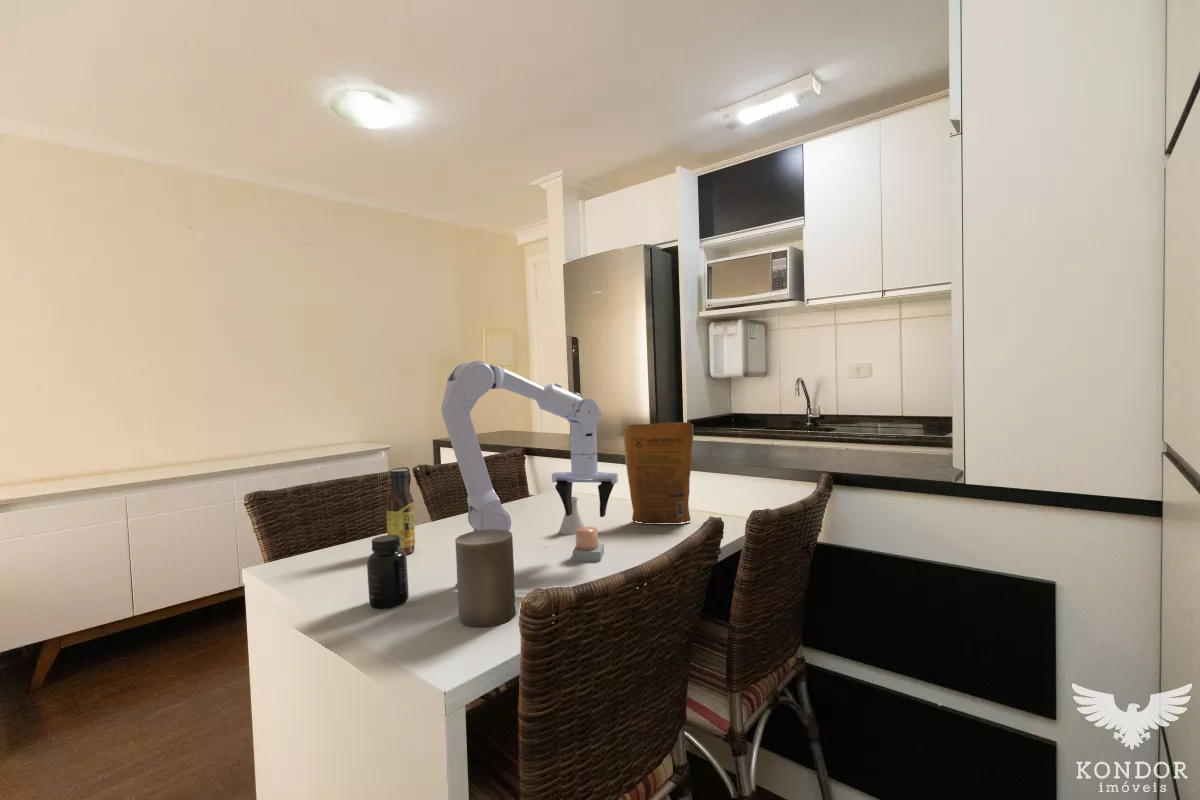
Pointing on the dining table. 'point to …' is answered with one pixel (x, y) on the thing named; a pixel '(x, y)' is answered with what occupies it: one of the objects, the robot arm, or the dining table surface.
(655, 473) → the pancake mix bag
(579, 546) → the terracotta cylinder
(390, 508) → the sauce bottle
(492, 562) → the pillar candle
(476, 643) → the dining table surface
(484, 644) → the dining table surface
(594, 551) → the slate top block
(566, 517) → the flask
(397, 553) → the supplement bottle
